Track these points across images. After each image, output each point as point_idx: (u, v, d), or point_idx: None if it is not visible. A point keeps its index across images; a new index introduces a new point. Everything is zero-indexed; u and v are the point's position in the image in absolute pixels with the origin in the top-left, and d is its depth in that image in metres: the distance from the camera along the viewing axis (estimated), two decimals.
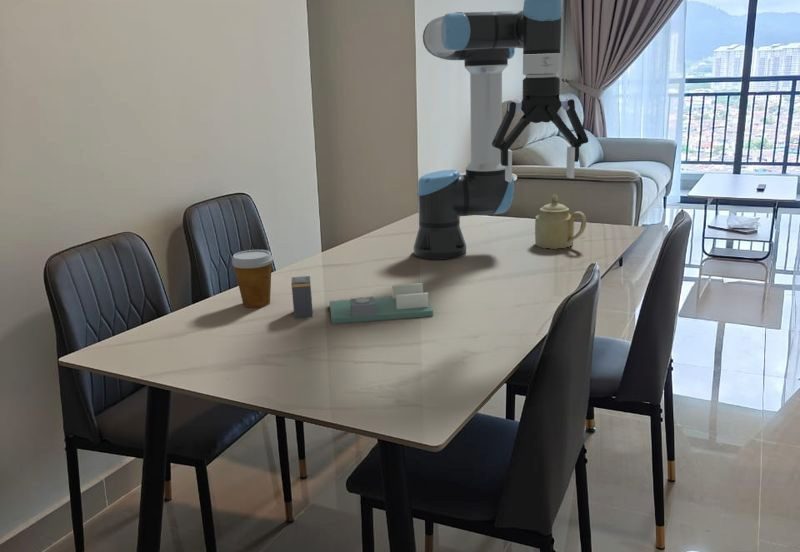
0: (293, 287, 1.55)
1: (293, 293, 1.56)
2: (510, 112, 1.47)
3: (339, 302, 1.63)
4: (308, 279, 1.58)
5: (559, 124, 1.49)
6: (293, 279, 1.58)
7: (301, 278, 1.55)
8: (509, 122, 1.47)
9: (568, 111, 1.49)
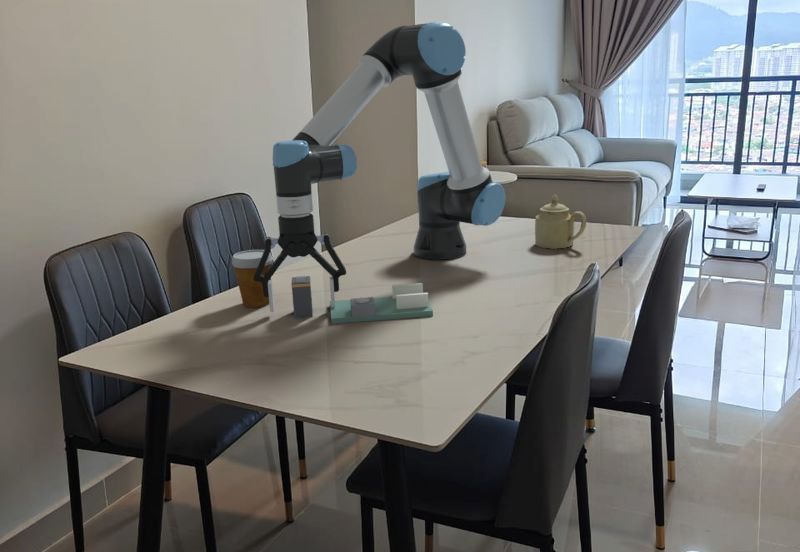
0: (293, 287, 1.55)
1: (293, 293, 1.56)
2: (266, 248, 1.53)
3: (339, 302, 1.63)
4: (308, 279, 1.58)
5: (316, 258, 1.55)
6: (293, 279, 1.58)
7: (301, 278, 1.55)
8: (266, 257, 1.54)
9: (325, 245, 1.56)
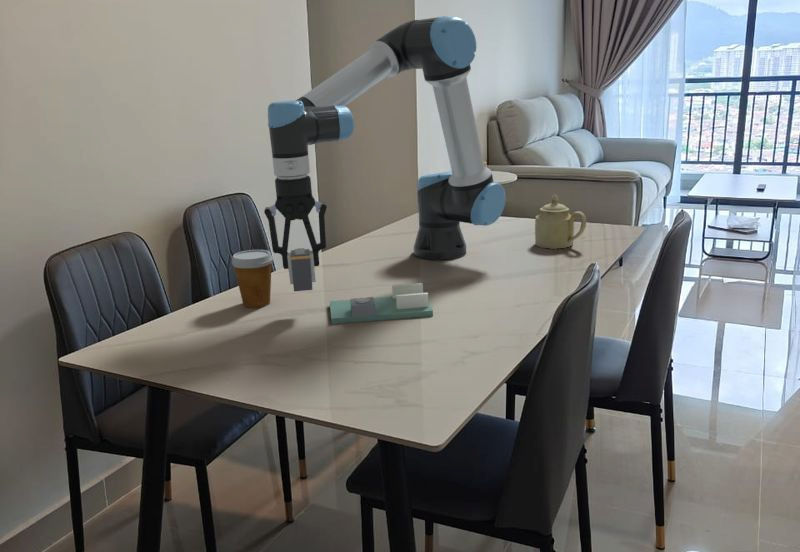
0: (292, 259, 1.54)
1: (292, 265, 1.54)
2: (268, 218, 1.52)
3: (339, 302, 1.63)
4: (307, 252, 1.56)
5: (305, 225, 1.53)
6: (292, 252, 1.56)
7: (300, 250, 1.54)
8: (273, 227, 1.52)
9: None
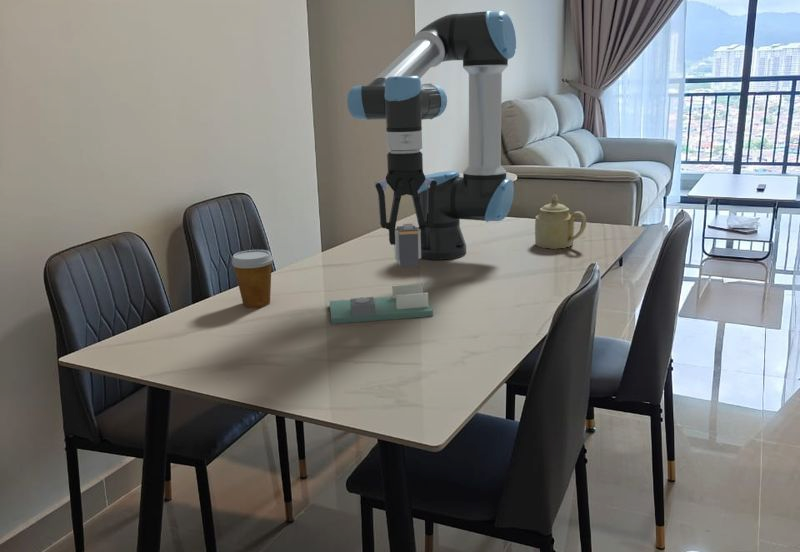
0: (401, 234, 1.54)
1: (400, 241, 1.54)
2: (379, 193, 1.52)
3: (339, 302, 1.63)
4: (414, 228, 1.56)
5: (415, 201, 1.53)
6: (399, 227, 1.56)
7: (409, 226, 1.54)
8: (383, 201, 1.53)
9: (428, 190, 1.54)
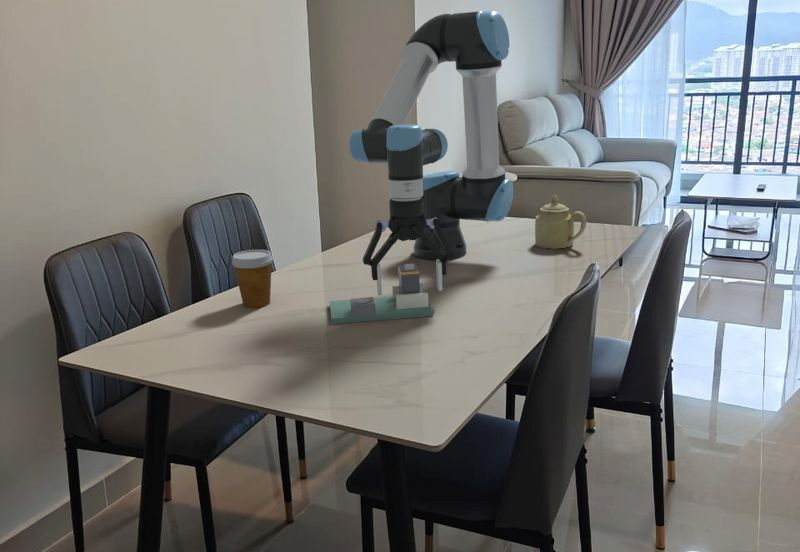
0: (402, 275, 1.56)
1: (402, 281, 1.57)
2: (377, 231, 1.54)
3: (339, 302, 1.63)
4: (416, 267, 1.59)
5: (425, 242, 1.56)
6: (400, 267, 1.59)
7: (410, 266, 1.57)
8: (376, 241, 1.55)
9: (434, 229, 1.57)
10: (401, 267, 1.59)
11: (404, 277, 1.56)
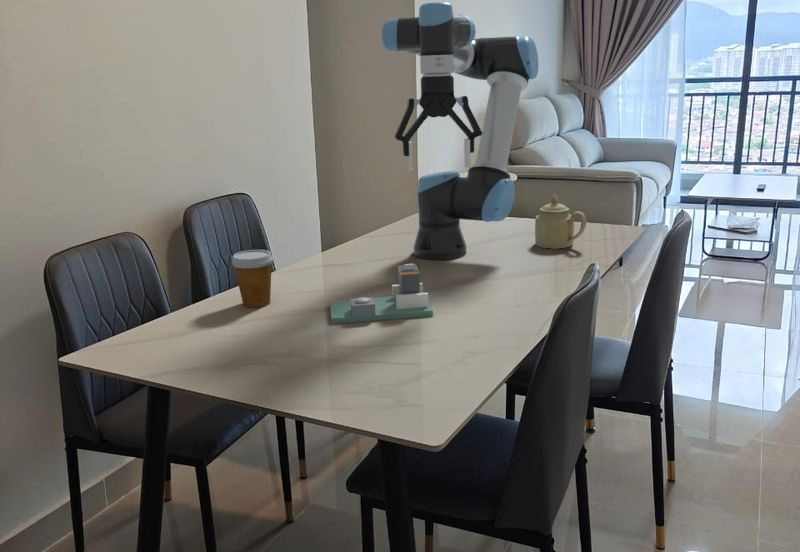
0: (402, 275, 1.56)
1: (402, 281, 1.57)
2: (409, 107, 1.63)
3: (339, 302, 1.63)
4: (416, 267, 1.59)
5: (454, 118, 1.65)
6: (400, 267, 1.59)
7: (410, 266, 1.57)
8: (408, 116, 1.63)
9: (463, 107, 1.65)
10: (401, 267, 1.59)
11: (404, 277, 1.56)
